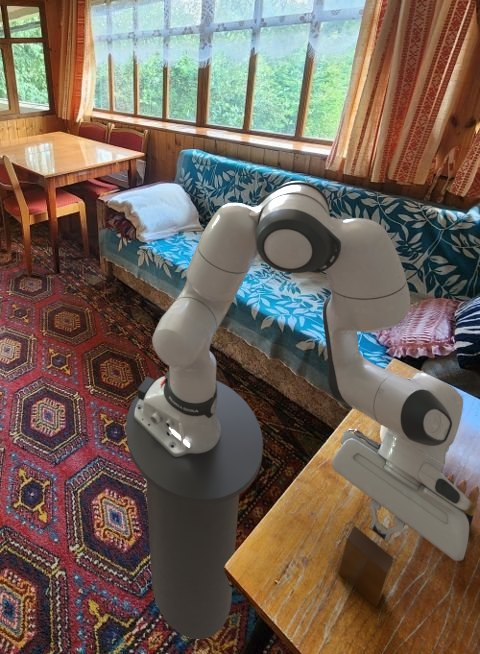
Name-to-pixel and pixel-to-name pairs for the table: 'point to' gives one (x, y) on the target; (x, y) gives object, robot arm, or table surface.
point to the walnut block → (365, 565)
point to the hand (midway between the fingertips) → (378, 535)
